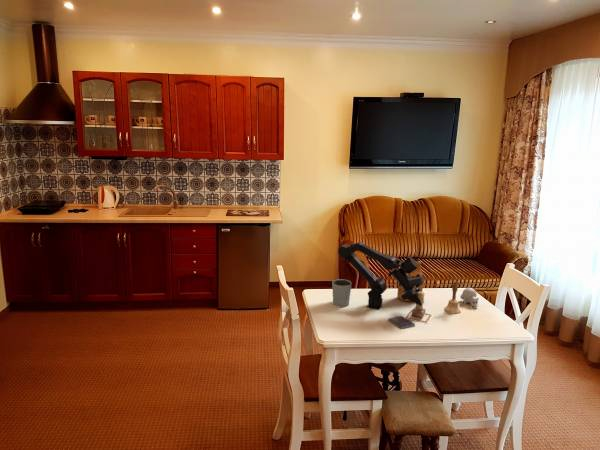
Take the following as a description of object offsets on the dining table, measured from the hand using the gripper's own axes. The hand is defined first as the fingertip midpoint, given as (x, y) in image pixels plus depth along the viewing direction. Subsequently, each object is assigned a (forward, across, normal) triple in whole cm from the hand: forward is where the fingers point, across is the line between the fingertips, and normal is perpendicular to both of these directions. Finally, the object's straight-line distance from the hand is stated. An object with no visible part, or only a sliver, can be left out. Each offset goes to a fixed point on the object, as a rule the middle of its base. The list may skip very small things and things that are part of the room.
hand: (422, 304), depth 220 cm
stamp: (+3, 0, +6) cm, 7 cm away
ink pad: (0, -13, +10) cm, 16 cm away
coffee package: (-3, +20, +13) cm, 25 cm away
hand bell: (+13, +18, -3) cm, 23 cm away
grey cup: (-24, -7, +34) cm, 42 cm away
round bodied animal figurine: (+18, +33, -8) cm, 38 cm away
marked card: (+4, 0, +6) cm, 7 cm away
